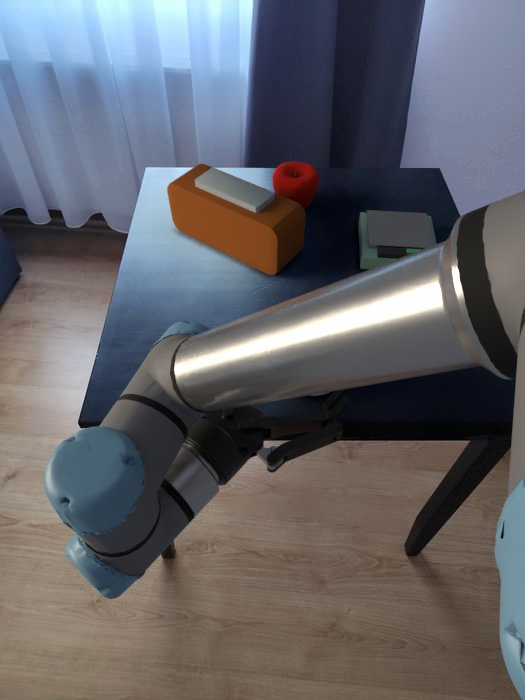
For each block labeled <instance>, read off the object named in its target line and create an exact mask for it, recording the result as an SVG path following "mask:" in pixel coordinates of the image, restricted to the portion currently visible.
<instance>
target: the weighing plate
mask: <svg viewBox="0 0 525 700" xmlns="http://www.w3.org/2000/svg"><path fill="white" fill-rule="evenodd" d="M365 213H366V217H367V233H368V247H376V248H378V247H393V248H410V249H425V248H428V247H431V246H433V241H432V236H431V231H430V226H429V221H428V216H429V215H428V213H427V212H410V211H394V210H393V211H391V210H375V209H374V210H373V209H367V210H366V211H365Z"/></svg>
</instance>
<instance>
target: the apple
mask: <svg viewBox="0 0 525 700" xmlns="http://www.w3.org/2000/svg"><path fill="white" fill-rule="evenodd" d="M319 185H320V175H319V174H318V171H317V169H316V167H315V166H313V164H310V163H308V162H302V161H301V162H300V161H285V162H283V163H281V164H279V165H277V167H276V169H275V170H274V171H273V173H272V188H273V192H274V193H276V194H278V195H281V196H283V197H286V198H288V199H291V200H293V201H296V202H297V203H299V204H300V205H301V206H302V207H303V208H304V211H305V210H306V209H308V208H309V207H310V205H311V204H312V202H313V200H314V198H315V197H316V193H317V191H318V188H319Z"/></svg>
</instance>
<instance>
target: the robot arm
mask: <svg viewBox="0 0 525 700" xmlns="http://www.w3.org/2000/svg"><path fill="white" fill-rule="evenodd" d="M477 367H483V368H485V369H486V370H488V371H489V372H491V373H493V375H495V376H497V377H499V378H500V379H502V380H505V381H509V380H515V387H514V388H515V389H514V390H515V391H514V403H513V417H512V431H511V445H510V457H509V472H508V485H507V486H508V487H507V498H506V499H505V501H504V504H503V506H502V509H501V512H500V515H499V518H498V521H497V523H496V530H495V538H494V539H495V542H494V543H495V544H494V559H495V563H496V566H497V567H496V568H497V571H498V579H499V580H498V581H499V588H500V592H499V593H500V596H499V597H500V598H499V643H500V649H501V653H502V658H503V662H504V665H505V668H506V671H507V673H508V676H509V677H510V679H511V682H512V685H513V686H514V688H515V690H516V692H517V693H518V695H519V697H520V698H521V700H525V189H523V190H522V191H519V192H515V193H514V194H511V195H508V196H506V197H504V198H501V199H499V200H496V201H493V202H490V203H487V204H486V205H483V206H481V207H479V208H476V209H474V210H471V211H469V212H466V213H464V214H462V215H460V216H459V217H458V218H457V219H456V221H455V223H454V225H453V227H452V230H451V232H450V233H449V236H448V238H446V240H444V241H441V242H439V243H436V245H433V246H431V247H428V248H425V249H423V250H420V251H417V252H415V253H412V254H409V255H407V256H404V257H401V258H399V259H396V260H394V261H391V262H388V263H386V264H383V265H380V266H378V267H375V268H372V269H366V270H364V271H362V272H360V273H356V274H354V275H351V276H348V277H345V278H343V279H340V280H338V281H335V282H333V283H329V284H326V285H325V286H322V287H320V288H316V289H314V290H311V291H309V292H306V293H304V294H303V293H302V294H301V295H298V296H295V297H293V298H290V299H287V300H285V301H282V302H280V303H277V304H275V305H272V306H269V307H267V308H264V309H261V310H259V311H256V312H254V313H249V314H248V315H245V316H242V317H240V318H237V319H235V320H232V321H229V322H227V323H224V324H221V325H219V326H215V327H213V328H210V327H209V326H206V325H204V324H202V323H199V322H197V321H194V322H191V323H189V322H188V321H186V320H183V321H177V322H175V323H173V324H171V325H170V326H169V327H168V328H167V329H166V330H165V332H164V333H163V334H162V335H161V336H160V337H159V339H158V340H156V341H155V342H154V343H153V345H152V346H151V348H150V350H149V353H148V355H147V356H146V357H145V359H144V360H143V361H142V363H141V365H140V366H139V367H138V369H137V370H136V372H135V374H134V375H133V377H132V378H131V379H130V381H129V383H128V384H127V385H126V387H125V388H124V390H123V391H122V392H121V394H120V395H119V397H118V399H117V400H116V401H115V403H114V404H113V406H112V407H111V409H110V410H109V412H108V413H107V414H106V416H105V417H104V419H103V420H102V422H101V423H100V424H99V426H90V427H86V428H85V427H84V428H83V429H79V430H78V431H76V433H75V434H73V435H71V436H70V437H68V438H67V439H64V440H63V441H61V442H60V443H59V444H58V445H57V446H56V447H55V449H53V451H52V453H51V455H50V456H49V458H48V460H47V463H46V466H45V469H44V475H43V486H44V490H45V491H44V492H45V494H46V497H47V499H48V500H49V502H50V505H51V506H52V508H53V509H54V511H55V512H56V513H57V515H58V518H59V519H60V520H61V521H62V522H63V524H64V525H65V526H66V527H67V528H69V529H70V530H72V531H73V532H74V533H75V534H74V535H73V536H72V537H71V538H70V540H68V541H67V544H66V546H65V552H64V553H65V556H66V557H67V558H68V561H70V563H71V564H72V565H73V566H74V567H75V568H76V570H77V571H78V572H79V573H80V574H81V575H82V576H83V577H84V578H85V579H86V580H87V581H88V582H89V584H90V585H91V586H92V587H93V588H94V589H96V590H97V591H98V592H99V594H100V595H101V596H102V597H104V598H106V599H108V600H115V599H118V598H119V597H121V596H122V595H123V594H124V593H125V592H126V591H127V590H128V589H130V587H131V586H133V585H134V584H135V582H137V581H138V580H140V579H142V578H143V577H144V575H145V574H146V572H147V570H148V569H149V568H150V567H151V566H152V565H153V563H154V562H156V560H157V559H158V558H159V557H160V556H161V555H162V554H163V553H164V551H166V549H167V548H168V547H169V546H170V545H171V544H172V543H173V542H174V541H175V540H176V539H177V537H178V536H179V535H180V534H181V533H182V532H183V531H184V530H185V529H186V527H188V525H190V523H191V522H192V521H193V520H194V519H195V518H196V517H197V516H198V515H199V514H200V513H201V512H202V510H203V509H204V508H205V507H206V506H208V504H209V503H210V502H211V501H212V500H213V499H214V497H215V496H216V495H217V494H218V493H219V492H220V486H226V485H227V484H228V483H229V482H230V481H231V480H232V479H233V478H234V477H235V476H236V475H237V473H238V472H239V471H240V470H241V469H242V468H243V467H244V466H245V465H246V463H248V461H249V460H250V459H252V458H254V457H258V458H259V459H260V460H261V461H262V462H263V464H265V465H266V470H267V472H268V473H270V474H271V473H272V474H273V473H275V472H277V471H278V470H279V469H280V468H282V466H283V465H285V464H286V463H287V462H289V461H293V460H295V459H297V458H300V457H302V456H305V455H307V454H309V453H312V452H315V451H317V450H319V449H322V448H325V447H327V446H329V445H332V444H335V443H337V442H340V440H341V439H342V436H343V432H344V424H343V423H342V422H340V421H339V420H338V419H339V417H340V416H341V415H342V414H343V412H344V411H345V410H346V409H348V405H349V400H350V396H348V395H349V394H350V393H351V391H352V390H354V388H360V387H366V386H371V385H377V384H383V383H384V384H385V383H389V382H394V381H401V380H407V379H412V378H418V377H424V376H431V375H436V374H441V373H447V372H454V371H460V370H465V369H470V368H477ZM325 392H329V393H331V392H332V394H331V395H330V396H329V397H328V398H327V399H326V400H325V402H323V404H322V408H321V410H319V411H310V412H306V413H305V412H303V413H298V414H292V415H286V416H285V415H284V416H275V415H271V416H270V415H269V416H264V415H263V411H261V410H259V409H258V408H256V407H253V406H254V405H261V404H267V403H271V402H277V401H283V400H290V399H295V398H302V397H306V396H313V394H319V393H325ZM201 415H202V417H200V416H201ZM304 433H305V434H304ZM299 434H303V435H300V436H298V437H295V438H292V439H290V440H287V441H285V442H283V443H281V444H280V445H278V446H275V445H272V446H270V447H266V446H265V447H264V445H265V441H271V440H276V439H277V438H279V437H283V436H290V435H291V436H292V435H299Z"/></svg>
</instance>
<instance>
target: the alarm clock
mask: <svg viewBox="0 0 525 700" xmlns="http://www.w3.org/2000/svg"><path fill="white" fill-rule="evenodd" d="M166 192H167V197H168V203H169V208H170V214H171V219H172V221H173V222H172V223H173V225H174V226H175V228H176V229H177V230H178V231H179V232H180V233H183V235H187V236H188V237H190V238H193V239H195V240H196V241H199V242H201V243H203V244H204V245H206V246H209V247H211V248H213V249H215V250H217V251H219V252H221V253H223V254H225V255H227V256H229V257H232V258H234V259H235V260H237V261H240V262H242V263H244V264H246V265H248V266H250V267H252V268H254V269H256V270H258V271H260V272H262V273H264V274H266V275H269V276H275V275H277V274H278V273H279V272H280V271H281V270H282V269H283V268H284V267H285V266H286V265H287V264H289V263H290V261H292V260H293V259H294V258H295V257H296V256H297V255H298V254H299V252H301V251H302V250H303V248H304V242H305V241H304V240H305V229H306V216H307V215H306V211H305V210H304V208H303V207H302V206H301V205H300V204H299V203H297V202H296V201H293V200H291V199H288V198H286V197H283V196H281V195H278V194H276V193H275V191H271V190H270V189H268V188H264V187H262V186H260V185H258V184H255V183H252V182H250V181H247V180H245V179H244V178H243V179H242V178H240V177H237V176H235V175H233V174H230V173H228V172H225V171H223V170H221V169H218V168H215V167H213V166H210V165H208V164H205V163H199V164H196V165H195V166H194V167H192V168H190V169H189V170H188V171H186V172H185V173H183V174H182V175H180V176H179V177H177V178H176V179H174V180H173V181H171V182H169V183H168V185H167V187H166Z"/></svg>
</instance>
